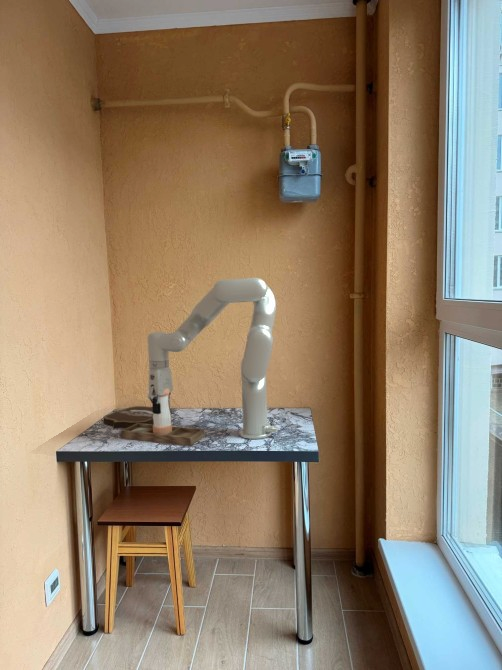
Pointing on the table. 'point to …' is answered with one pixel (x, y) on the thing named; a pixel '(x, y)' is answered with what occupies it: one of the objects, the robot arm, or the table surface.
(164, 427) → the pepper shaker
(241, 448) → the table surface
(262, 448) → the table surface
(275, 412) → the table surface
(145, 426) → the notch ledge
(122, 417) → the decorative plaque
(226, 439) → the table surface
